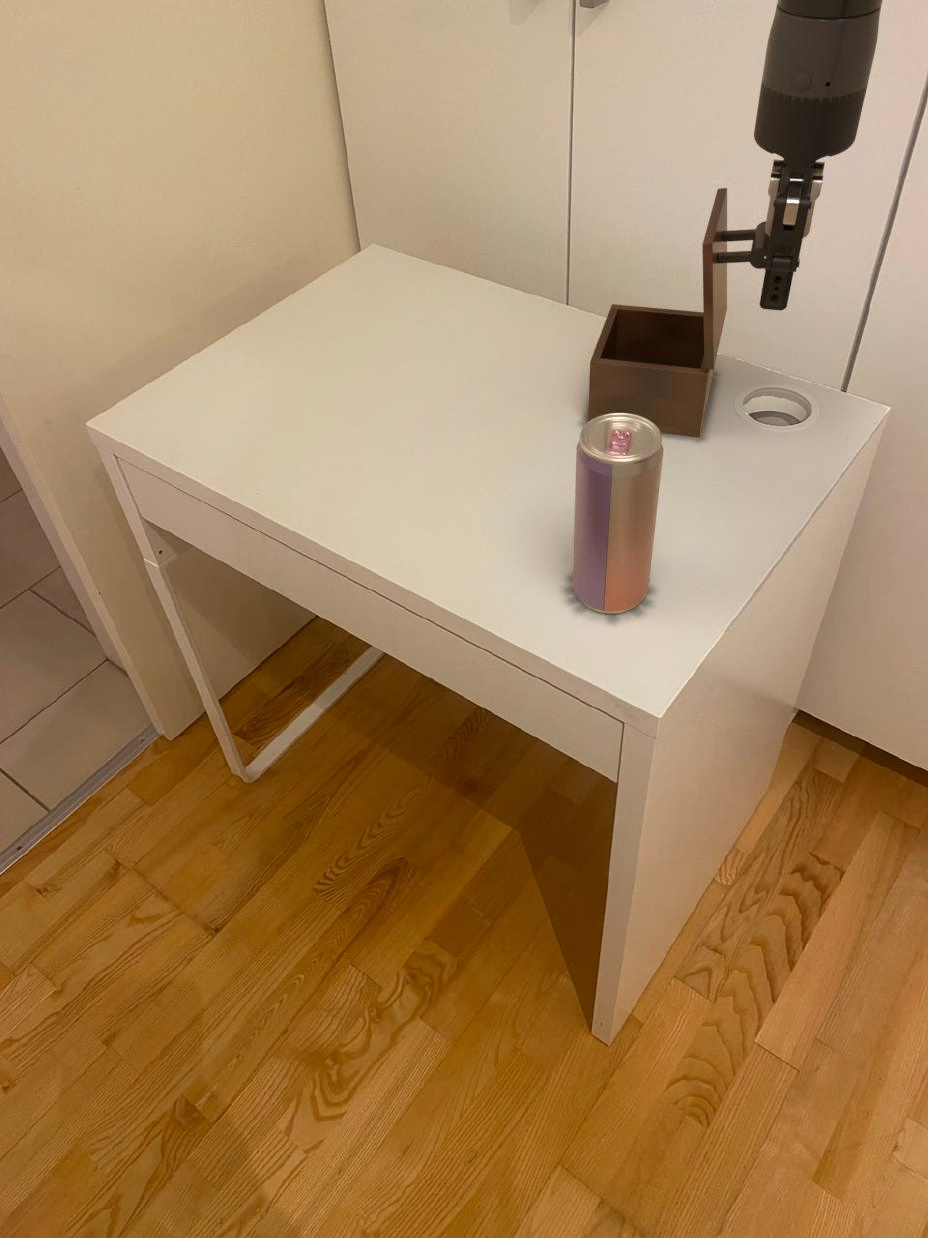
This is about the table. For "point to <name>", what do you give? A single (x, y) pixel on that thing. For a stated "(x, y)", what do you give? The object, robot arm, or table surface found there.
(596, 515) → the beverage can
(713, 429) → the table surface
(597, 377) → the chest
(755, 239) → the lid
